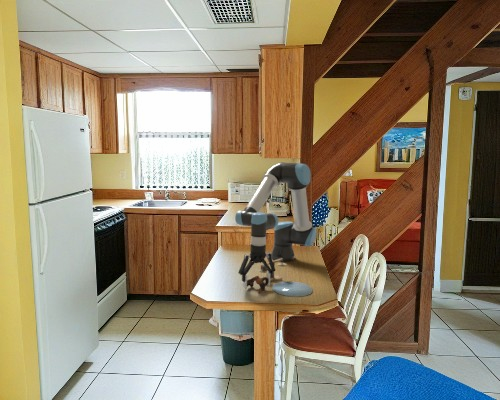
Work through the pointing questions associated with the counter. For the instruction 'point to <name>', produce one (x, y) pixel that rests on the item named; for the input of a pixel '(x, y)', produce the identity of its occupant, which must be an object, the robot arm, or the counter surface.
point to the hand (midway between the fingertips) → (256, 286)
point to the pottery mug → (258, 281)
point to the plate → (292, 289)
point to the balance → (274, 278)
